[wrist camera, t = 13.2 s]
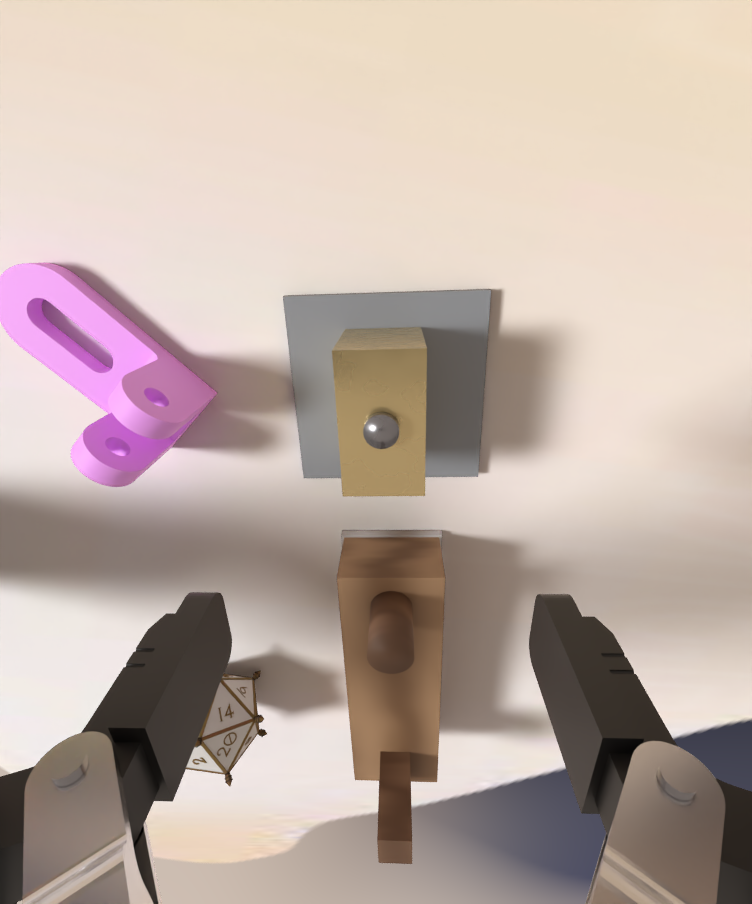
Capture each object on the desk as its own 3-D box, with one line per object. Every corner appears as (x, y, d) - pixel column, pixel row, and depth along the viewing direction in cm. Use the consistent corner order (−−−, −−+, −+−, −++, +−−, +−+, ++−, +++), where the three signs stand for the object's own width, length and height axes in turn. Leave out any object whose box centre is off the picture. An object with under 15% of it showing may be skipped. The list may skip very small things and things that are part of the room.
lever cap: (352, 450, 30) (341, 501, 24) (345, 329, 27) (330, 353, 21) (419, 449, 30) (425, 501, 24) (420, 326, 26) (427, 351, 20)
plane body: (357, 724, 43) (345, 869, 33) (342, 530, 33) (318, 651, 23) (434, 726, 42) (446, 873, 32) (441, 530, 33) (460, 653, 23)
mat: (305, 474, 32) (303, 478, 31) (285, 295, 27) (282, 296, 26) (476, 472, 31) (478, 476, 30) (489, 289, 26) (491, 290, 25)
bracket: (218, 392, 29) (169, 432, 23) (172, 446, 31) (115, 497, 25) (37, 241, 26) (-78, 239, 20) (-3, 312, 28) (-120, 331, 22)
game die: (236, 630, 43) (204, 654, 34) (296, 696, 43) (281, 740, 33) (163, 702, 42) (107, 750, 32) (224, 773, 41) (185, 844, 31)
